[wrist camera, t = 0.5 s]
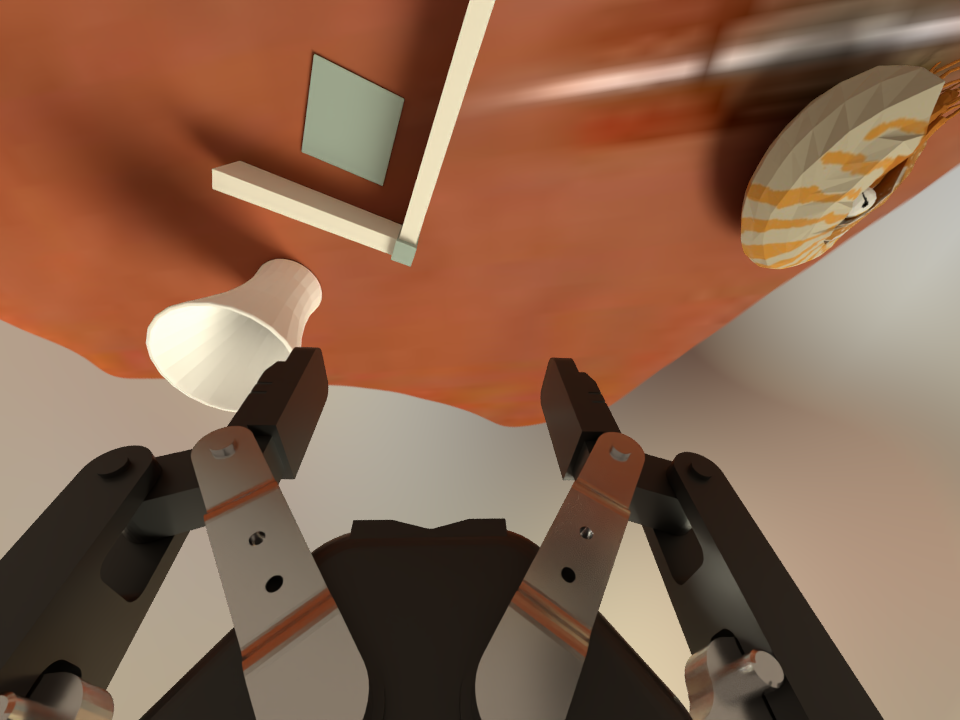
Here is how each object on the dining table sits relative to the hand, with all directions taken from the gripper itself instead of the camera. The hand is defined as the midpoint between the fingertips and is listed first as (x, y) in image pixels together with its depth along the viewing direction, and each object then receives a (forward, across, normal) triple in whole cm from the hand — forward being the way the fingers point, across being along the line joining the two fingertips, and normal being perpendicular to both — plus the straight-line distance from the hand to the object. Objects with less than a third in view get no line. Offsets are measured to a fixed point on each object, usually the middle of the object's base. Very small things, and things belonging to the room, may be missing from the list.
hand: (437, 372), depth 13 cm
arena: (+26, +8, -8) cm, 29 cm away
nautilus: (+27, -36, -7) cm, 45 cm away
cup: (+26, +16, +10) cm, 33 cm away
